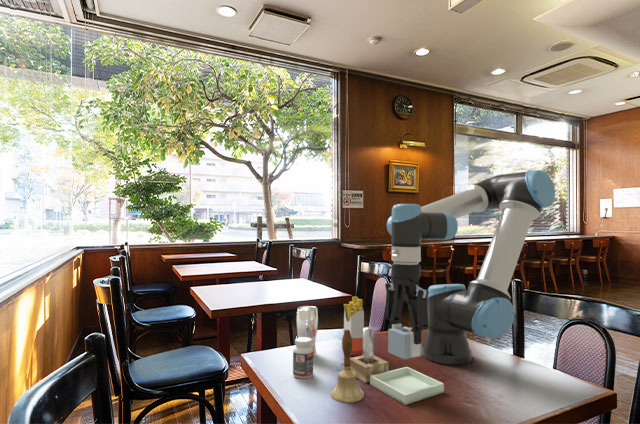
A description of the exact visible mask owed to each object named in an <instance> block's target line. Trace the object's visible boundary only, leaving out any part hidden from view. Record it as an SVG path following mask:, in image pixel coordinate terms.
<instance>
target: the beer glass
mask: <svg viewBox="0 0 640 424" xmlns="http://www.w3.org/2000/svg"><path fill="white" fill-rule="evenodd" d="M296 311H297V312H296V330H297V331H296V332H297V336H298V337H297V338H299V337H309V338H311V339H312V344H311V347H312V348H313V358H314V357H316V356H317V348H316V340H317V339H316V338H317V333H318V327H319V316H318V314H319V313H318V312H319V311H318V307H316V306H313V305H302V306H298V307H297V310H296Z"/></svg>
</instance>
